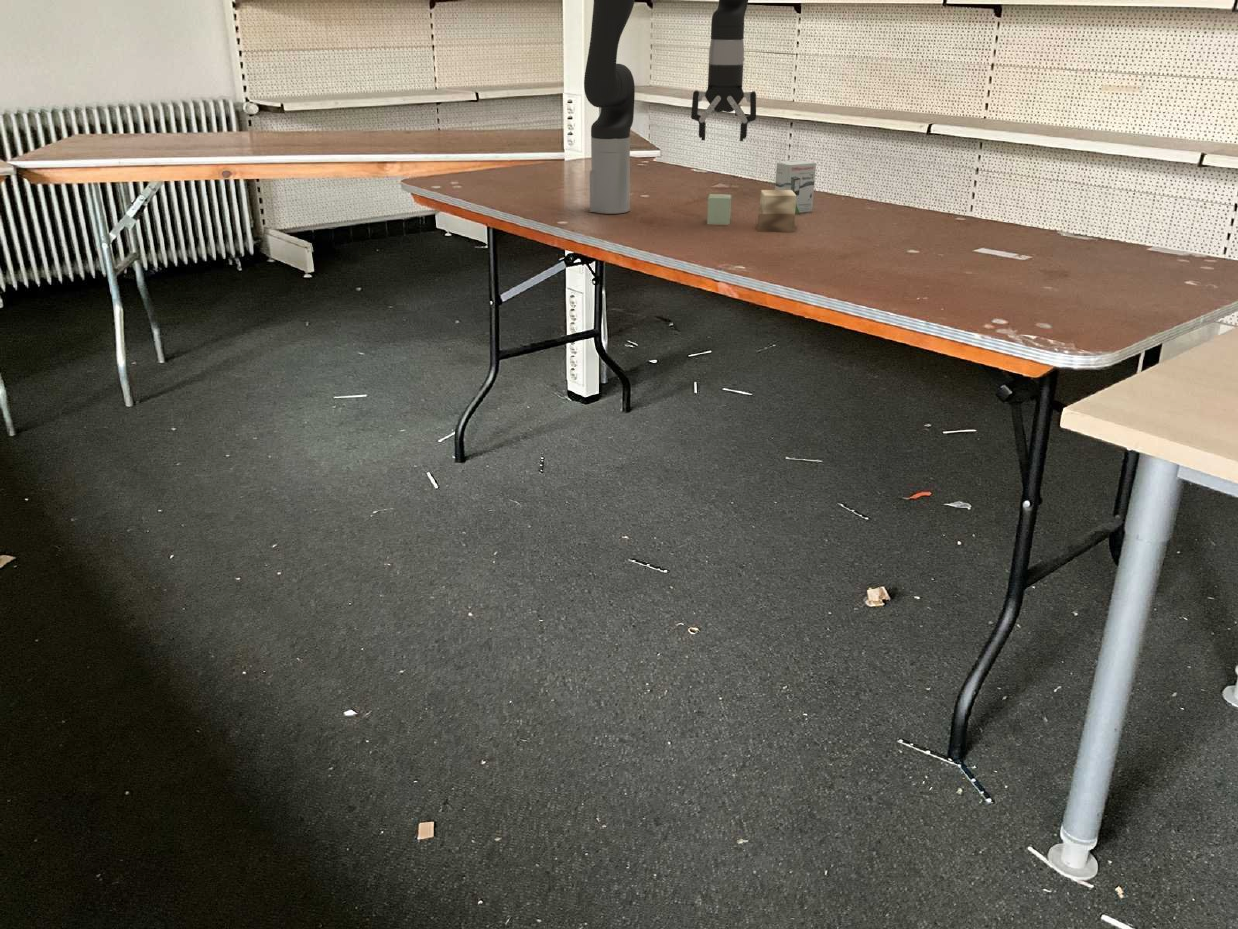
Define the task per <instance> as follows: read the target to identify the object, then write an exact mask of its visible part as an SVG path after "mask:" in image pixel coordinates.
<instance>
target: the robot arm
mask: <svg viewBox="0 0 1238 929" xmlns="http://www.w3.org/2000/svg"><path fill="white" fill-rule="evenodd" d="M748 4H749V0H718V5H717V6H718V7H717V9H715V11H714V12H713V13H712V17H711V25H710V27H711V28H710V44H709V50H708V70H707V71H708V74H707V77H708V78H707V89H706V91H702V90H701V91H700V90H698V89H695V90H694V91H693V93H692V102H691V104H692V105H691V113H690V118H691V119H692V120H694V121H696V122H698V137H699V138H700V139H701V141H706V130H707V129H706V126H707V125H706V123H707V122H706V119H707V118H708V117H709V116H710V114H711V113H713V111H715V112H716V113H722V112H724V113H725V112H726V113H732V112H734V113H735V114H736V116H738V118H739V119H740V121H741V123H740V132H739V133H740V134H739V142H744V140H745V139H747V136H748V135H747V133H748V131H747V130H748V124H749V123H751V122H755V121H756V119H757V92H756V91H755V90H753V91H748V92H747V91H746V92H745V91H743V80H744V78H743V76H744V61H745V46H744V36H745V35H744V34H745V17H746V16H745V15H746V12H747V8H748ZM634 5H635V0H593V5H592V7H593V8H592V17H591V18H592V19H591V30H590V42H589V47H588V54H587V60H586V66H585V69H584V70H585V71H584V77H583V78H584V79H583V89H584V94H585V97H586V99H587V101H588V102H589V104H590V105H592V106H593V107H595V108H598V109H599V108H600V113H599V116H598V118H597V119H596V120H595V121H594V122H593V123H592V124H591V127H590V141H591V142H590V143H591V144H590V147H591V148H590V150H591V151H590V153H591V159H590V160H591V169H590V171H589V213H598V214H606V215H608V214H624V213H627V212H630V205H631V204H630V203H631V200H630V199H631V198H630V192H631V188H630V186H631V185H630V182H631V181H630V178H631V175H630V174H631V173H630V172H631V170H630V169H631V167H630V166H631V165H630V164H631V160H630V159H631V157H630V156H631V155H630V154H631V152H630V151H631V147H630V146H631V145H630V144H631V129H632V126H633V122H634V114H635V96H636V95H635V94H636V93H635V91H636V88H635V79H634V76H633V72H632V71H631V69H629V67H628V66H626V65H625V64H622V63H617V56H618V49H619V43H620V40H621V36H622V33H623V32H624V30H625V27H626V25H627V23H628V21H629V18H630V16H631V14H632V11H633V8H634ZM703 98H705V99H706V101H707V102H708V103H709V105H708V106H707V108H706V109H705V110H704V112H703V113H702V114H699V103H700V102H702V100H703ZM744 98H745V99H746V102H747V103H749V105H750V106H749V107H750V109H749V111H750V112H749V113H750V114H749V115H746V114H745V113H744V112H745V111H744V110H743V109H742V108H741V105H740V103H741V102H742V100H743V99H744Z"/></svg>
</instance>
